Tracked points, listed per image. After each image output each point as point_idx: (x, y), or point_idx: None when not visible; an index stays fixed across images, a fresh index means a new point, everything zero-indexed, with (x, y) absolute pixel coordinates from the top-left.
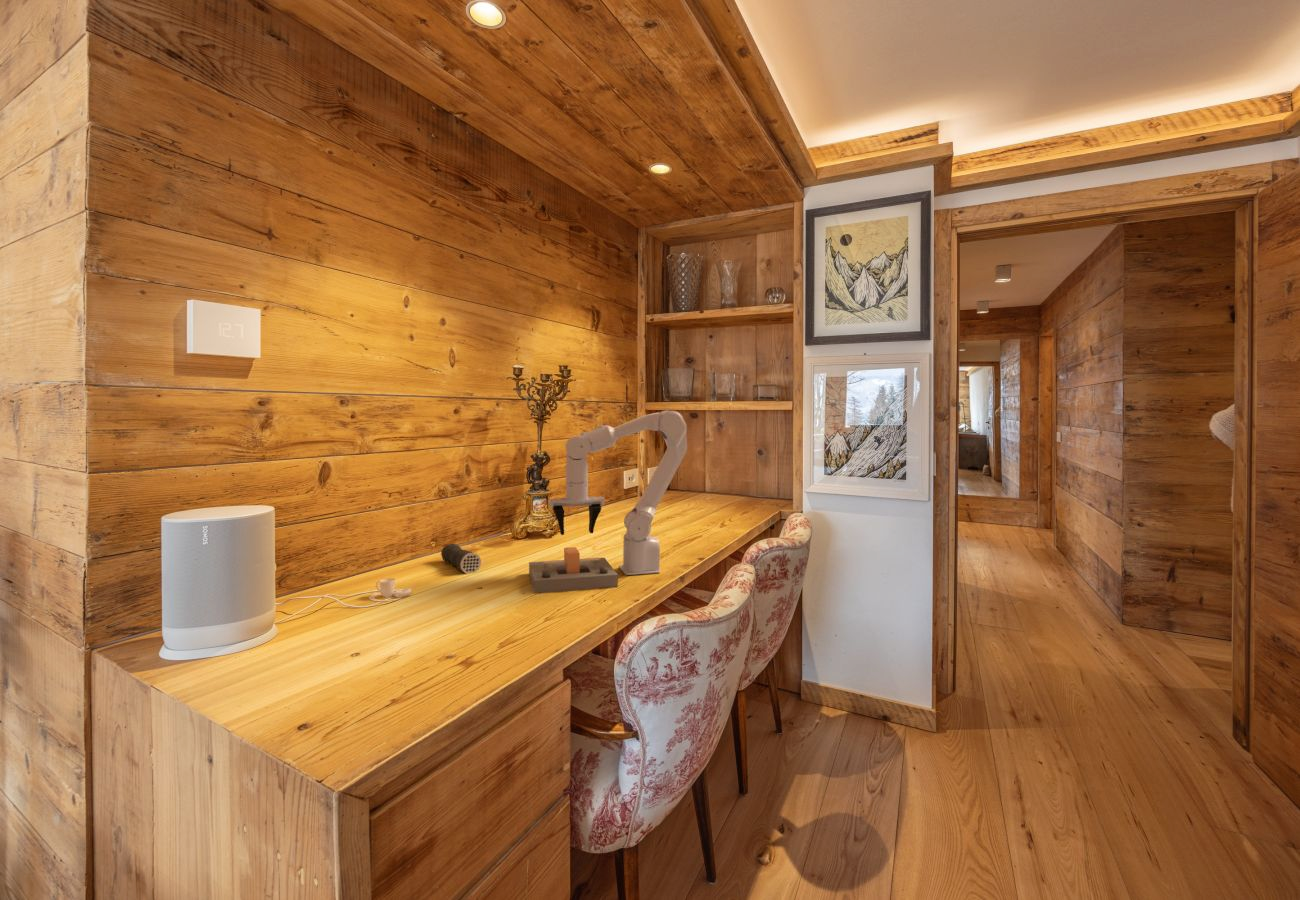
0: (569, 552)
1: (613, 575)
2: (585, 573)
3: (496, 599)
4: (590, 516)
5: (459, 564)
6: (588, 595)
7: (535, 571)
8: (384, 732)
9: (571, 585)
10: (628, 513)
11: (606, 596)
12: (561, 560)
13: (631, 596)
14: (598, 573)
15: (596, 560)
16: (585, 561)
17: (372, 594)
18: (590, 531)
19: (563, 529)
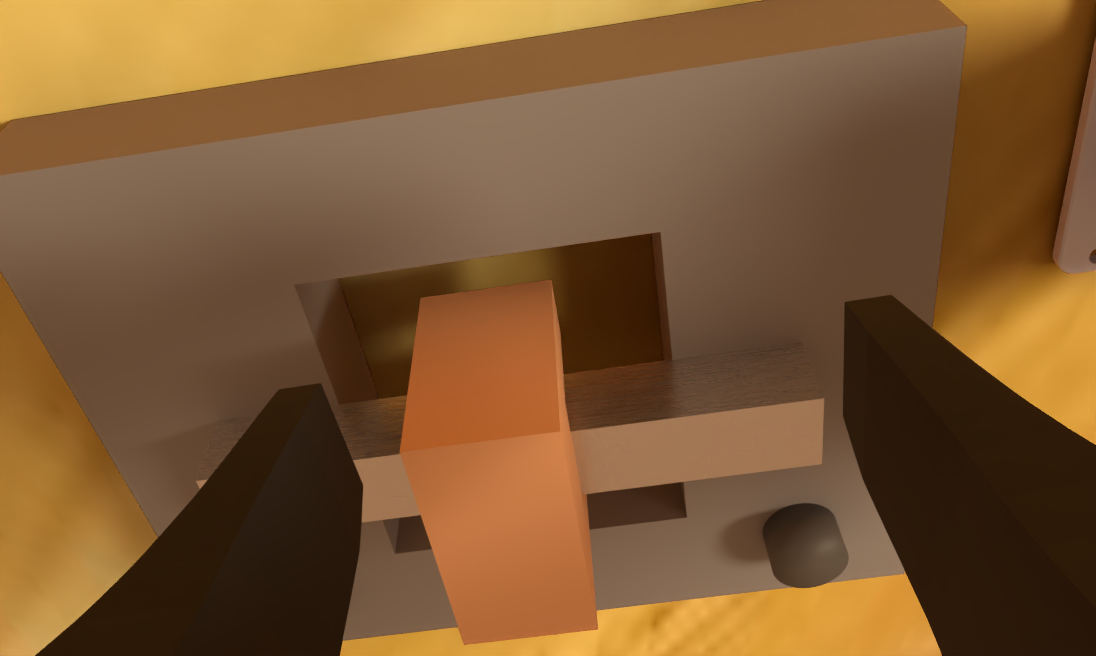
0: (483, 611)
1: (864, 573)
2: (635, 542)
3: (27, 641)
4: (983, 617)
5: None
6: (629, 612)
7: (160, 479)
8: None
9: None
10: None
11: (744, 629)
12: (393, 467)
13: (903, 634)
14: (748, 545)
15: (779, 465)
16: (657, 478)
17: None
18: (851, 430)
19: (342, 587)
